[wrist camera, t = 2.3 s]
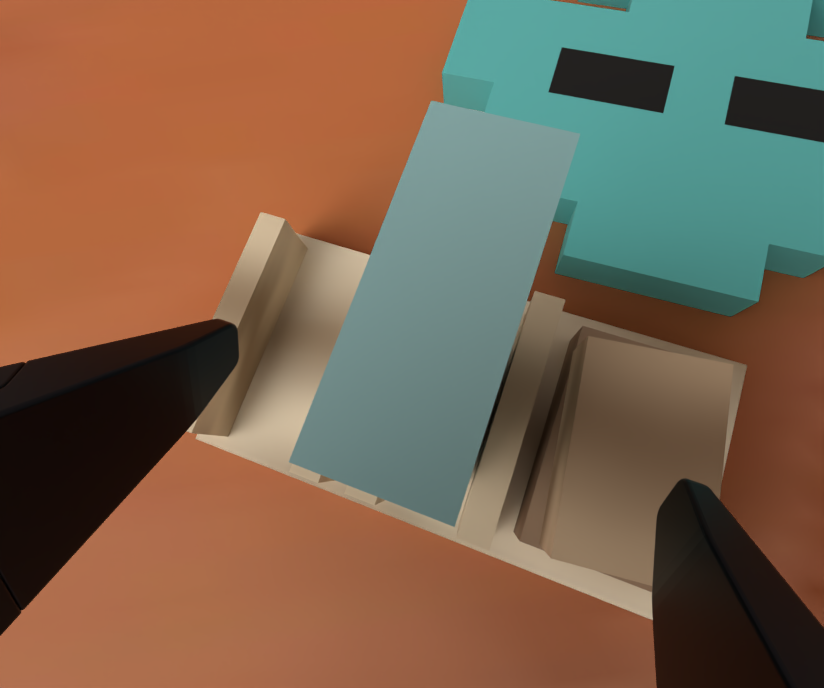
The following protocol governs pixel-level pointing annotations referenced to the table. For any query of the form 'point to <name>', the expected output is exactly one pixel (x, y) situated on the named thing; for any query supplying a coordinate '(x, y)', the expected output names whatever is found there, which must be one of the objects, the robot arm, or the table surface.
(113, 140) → the table surface
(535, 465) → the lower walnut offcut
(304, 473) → the birch rack
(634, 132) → the alien figure
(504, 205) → the teal panel
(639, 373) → the upper oak offcut
